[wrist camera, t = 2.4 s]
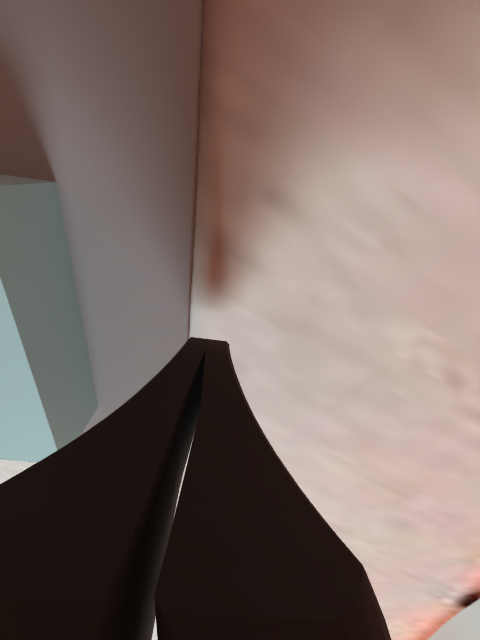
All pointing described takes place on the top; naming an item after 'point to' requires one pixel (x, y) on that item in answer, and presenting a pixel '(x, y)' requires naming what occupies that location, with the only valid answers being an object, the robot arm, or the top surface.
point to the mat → (112, 164)
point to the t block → (39, 327)
